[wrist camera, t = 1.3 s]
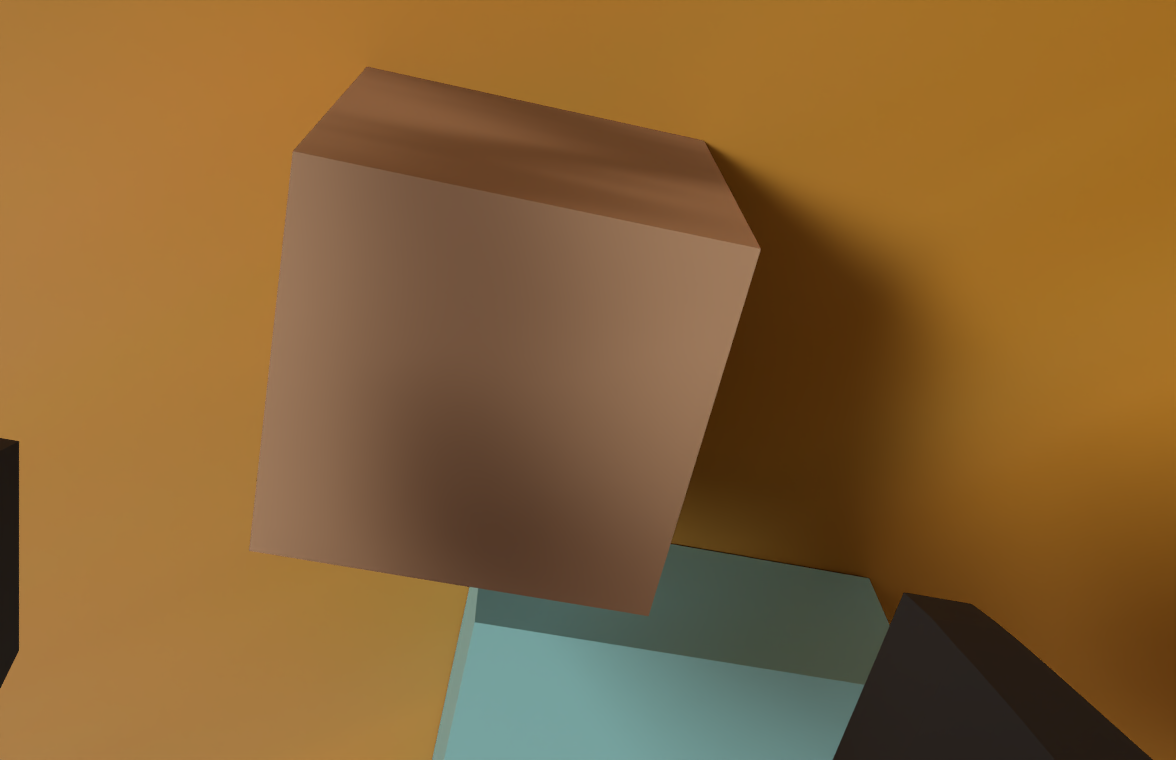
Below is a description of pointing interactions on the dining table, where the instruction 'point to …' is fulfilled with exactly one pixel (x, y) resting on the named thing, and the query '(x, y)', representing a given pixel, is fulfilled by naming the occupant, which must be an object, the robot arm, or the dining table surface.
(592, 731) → the teal plinth
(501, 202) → the walnut cube
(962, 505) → the dining table surface
